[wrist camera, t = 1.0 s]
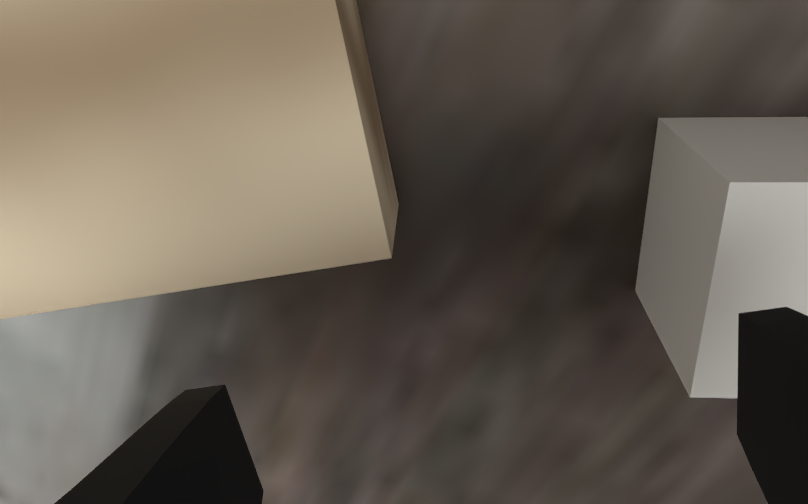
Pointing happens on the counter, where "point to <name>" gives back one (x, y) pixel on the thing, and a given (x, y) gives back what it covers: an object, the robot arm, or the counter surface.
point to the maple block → (184, 147)
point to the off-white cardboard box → (722, 238)
